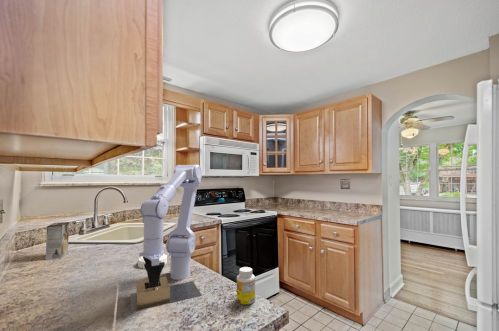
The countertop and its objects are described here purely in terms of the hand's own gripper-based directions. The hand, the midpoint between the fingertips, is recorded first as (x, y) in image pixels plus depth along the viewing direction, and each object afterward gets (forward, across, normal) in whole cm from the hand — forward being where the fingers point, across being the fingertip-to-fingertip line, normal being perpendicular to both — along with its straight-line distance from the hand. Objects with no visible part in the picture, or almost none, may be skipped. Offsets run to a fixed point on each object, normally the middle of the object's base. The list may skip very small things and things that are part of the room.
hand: (152, 281), depth 73 cm
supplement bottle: (+6, +15, +25) cm, 30 cm away
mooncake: (+6, -35, +3) cm, 36 cm away
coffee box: (+6, -68, -38) cm, 78 cm away
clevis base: (+6, 0, +4) cm, 7 cm away
